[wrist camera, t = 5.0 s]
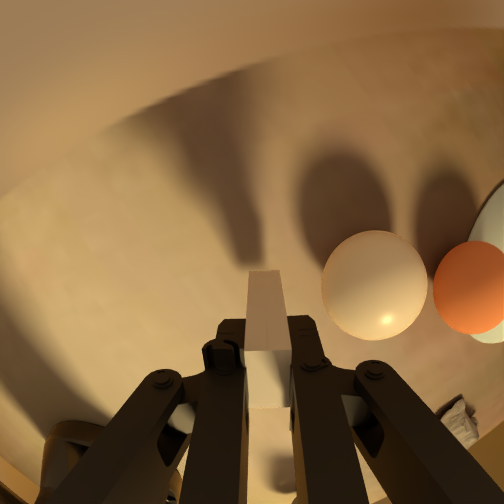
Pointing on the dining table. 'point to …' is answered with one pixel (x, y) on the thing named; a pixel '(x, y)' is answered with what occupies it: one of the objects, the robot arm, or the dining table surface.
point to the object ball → (471, 287)
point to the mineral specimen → (461, 424)
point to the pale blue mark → (498, 234)
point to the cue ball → (374, 285)
